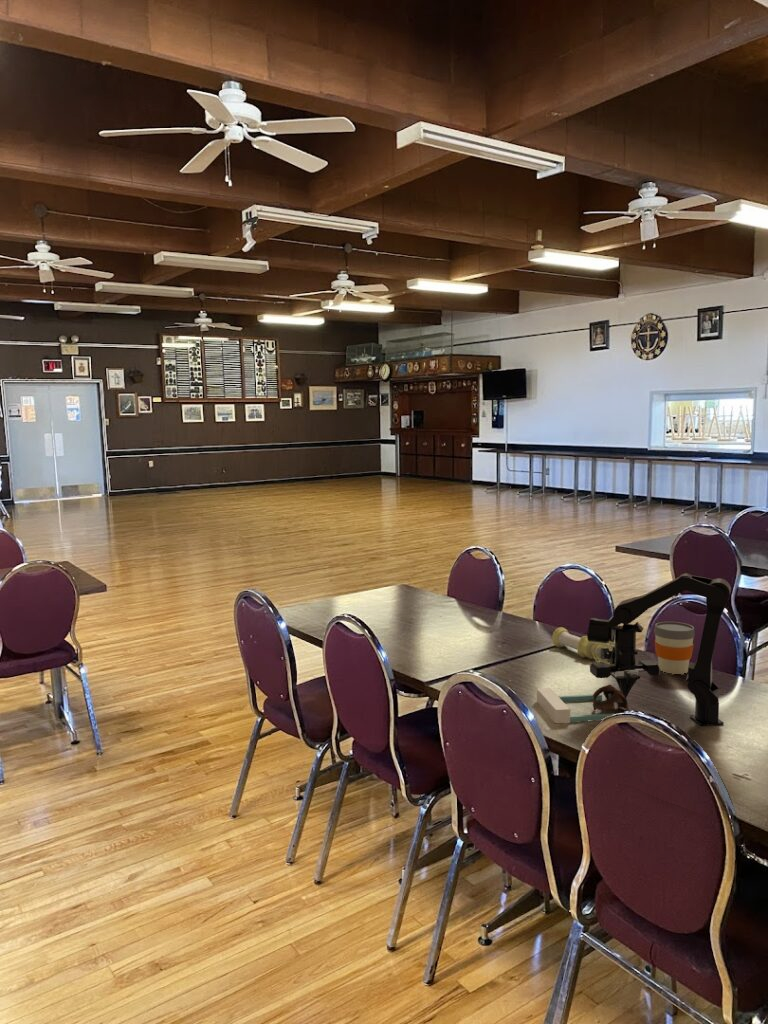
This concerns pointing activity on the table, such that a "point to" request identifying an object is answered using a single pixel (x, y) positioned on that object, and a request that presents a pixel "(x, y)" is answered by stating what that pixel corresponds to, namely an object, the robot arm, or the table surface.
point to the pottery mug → (609, 698)
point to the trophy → (581, 644)
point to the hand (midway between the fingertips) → (624, 697)
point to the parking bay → (564, 706)
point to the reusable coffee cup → (674, 646)
